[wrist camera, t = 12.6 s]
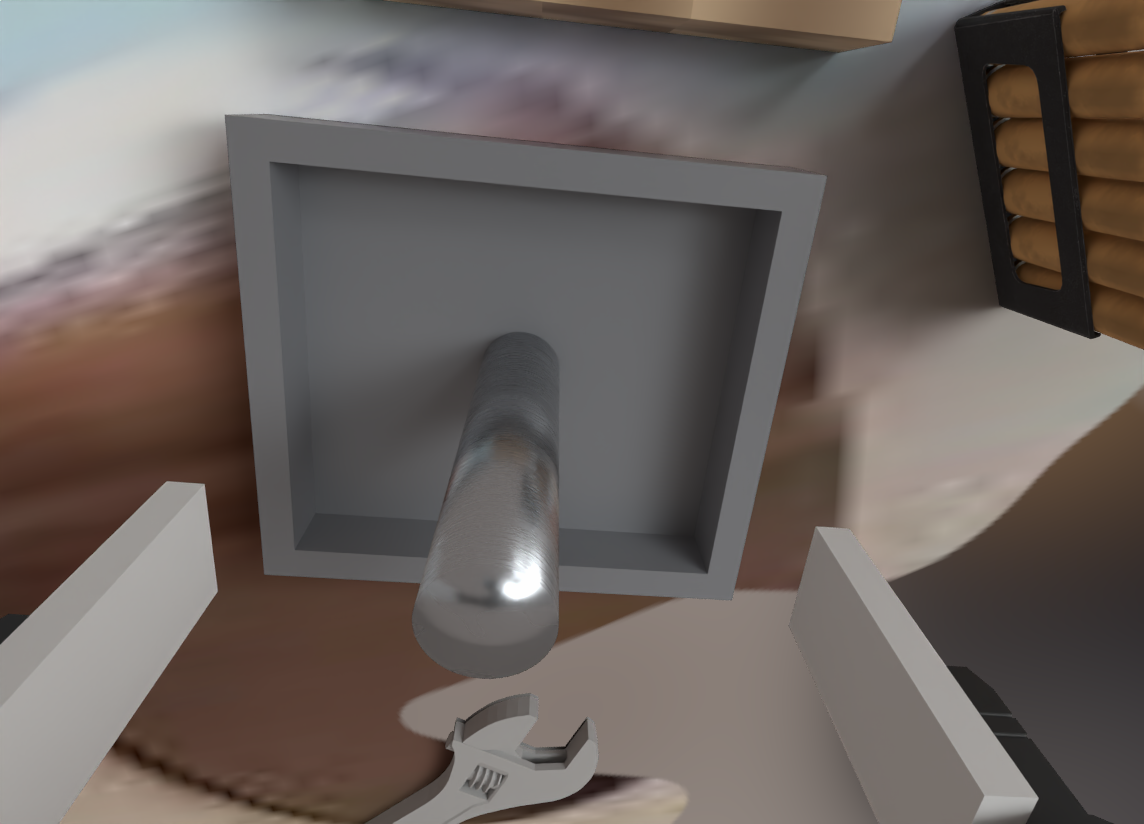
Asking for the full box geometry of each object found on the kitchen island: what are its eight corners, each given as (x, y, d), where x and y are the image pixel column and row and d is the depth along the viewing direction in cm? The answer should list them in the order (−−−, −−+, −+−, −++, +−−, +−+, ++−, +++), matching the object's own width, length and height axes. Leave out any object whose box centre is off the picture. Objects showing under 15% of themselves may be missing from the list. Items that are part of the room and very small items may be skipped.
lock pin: (563, 335, 27) (565, 570, 14) (556, 407, 28) (551, 683, 15) (483, 328, 26) (412, 560, 14) (479, 401, 28) (411, 674, 15)
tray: (791, 167, 26) (827, 175, 22) (712, 551, 32) (731, 600, 29) (267, 114, 24) (224, 114, 21) (293, 525, 30) (264, 574, 27)
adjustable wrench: (252, 928, 42) (240, 961, 40) (171, 868, 40) (155, 901, 38) (612, 746, 37) (615, 776, 35) (542, 667, 35) (542, 694, 33)
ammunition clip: (953, 21, 24) (1305, -55, 13) (1008, -2, 24) (1413, -100, 13) (999, 307, 28) (1298, 435, 17) (1046, 289, 28) (1381, 407, 17)
